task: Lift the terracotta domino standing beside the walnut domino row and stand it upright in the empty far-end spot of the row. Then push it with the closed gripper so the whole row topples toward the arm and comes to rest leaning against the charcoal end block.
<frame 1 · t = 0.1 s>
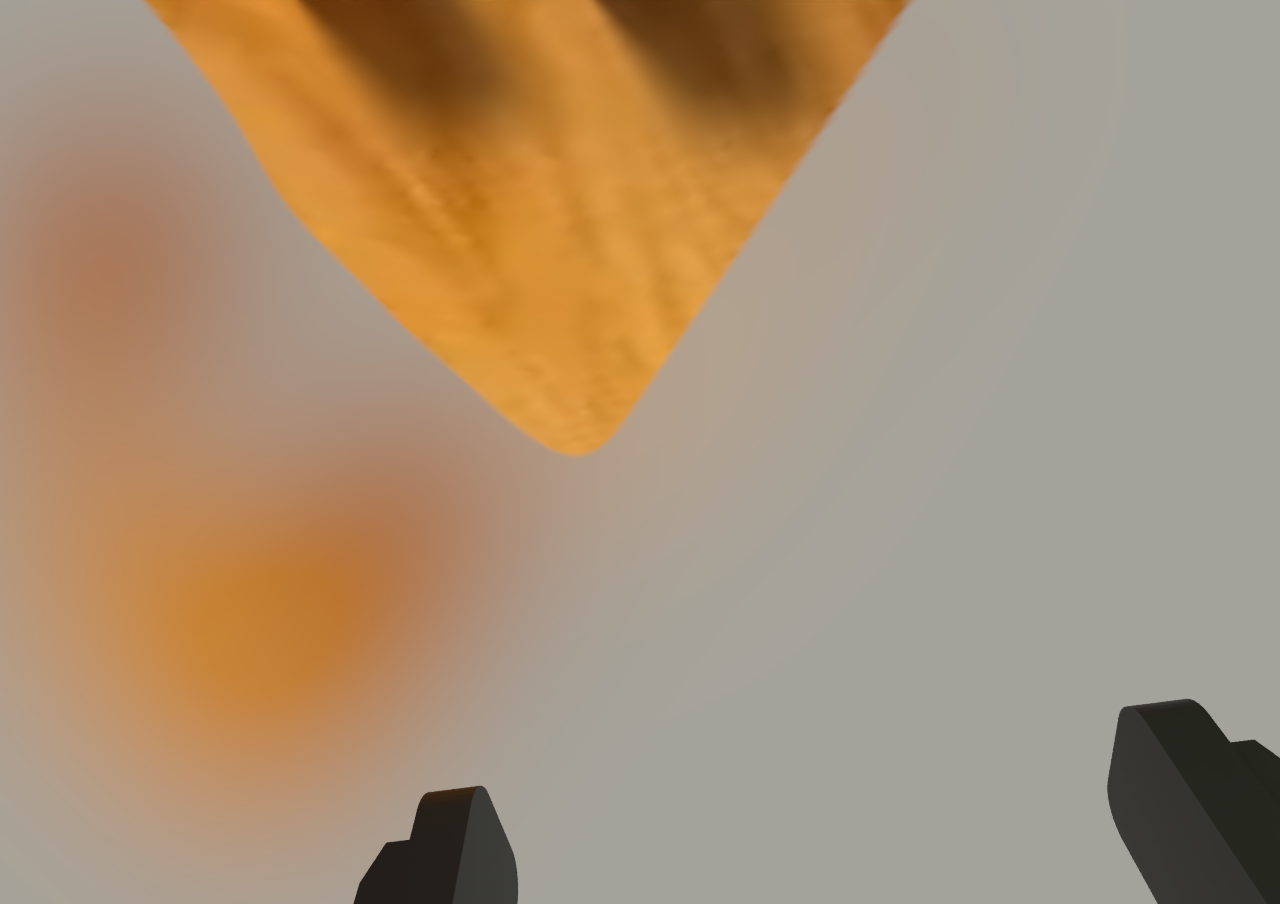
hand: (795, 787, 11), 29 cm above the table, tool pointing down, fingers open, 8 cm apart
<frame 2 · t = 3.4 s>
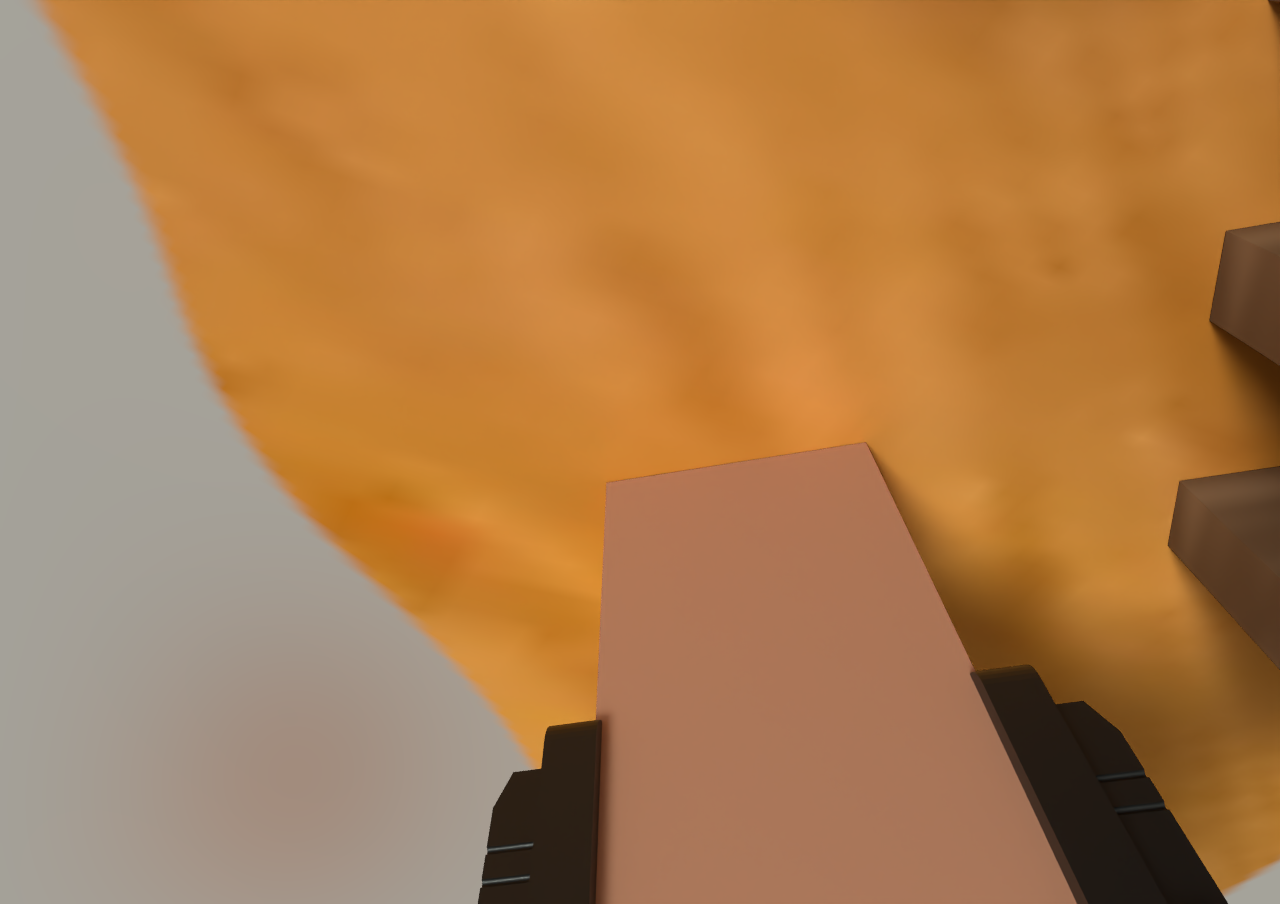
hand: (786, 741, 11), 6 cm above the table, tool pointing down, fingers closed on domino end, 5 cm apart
domino end: (739, 496, 16), on the table, touching gripper
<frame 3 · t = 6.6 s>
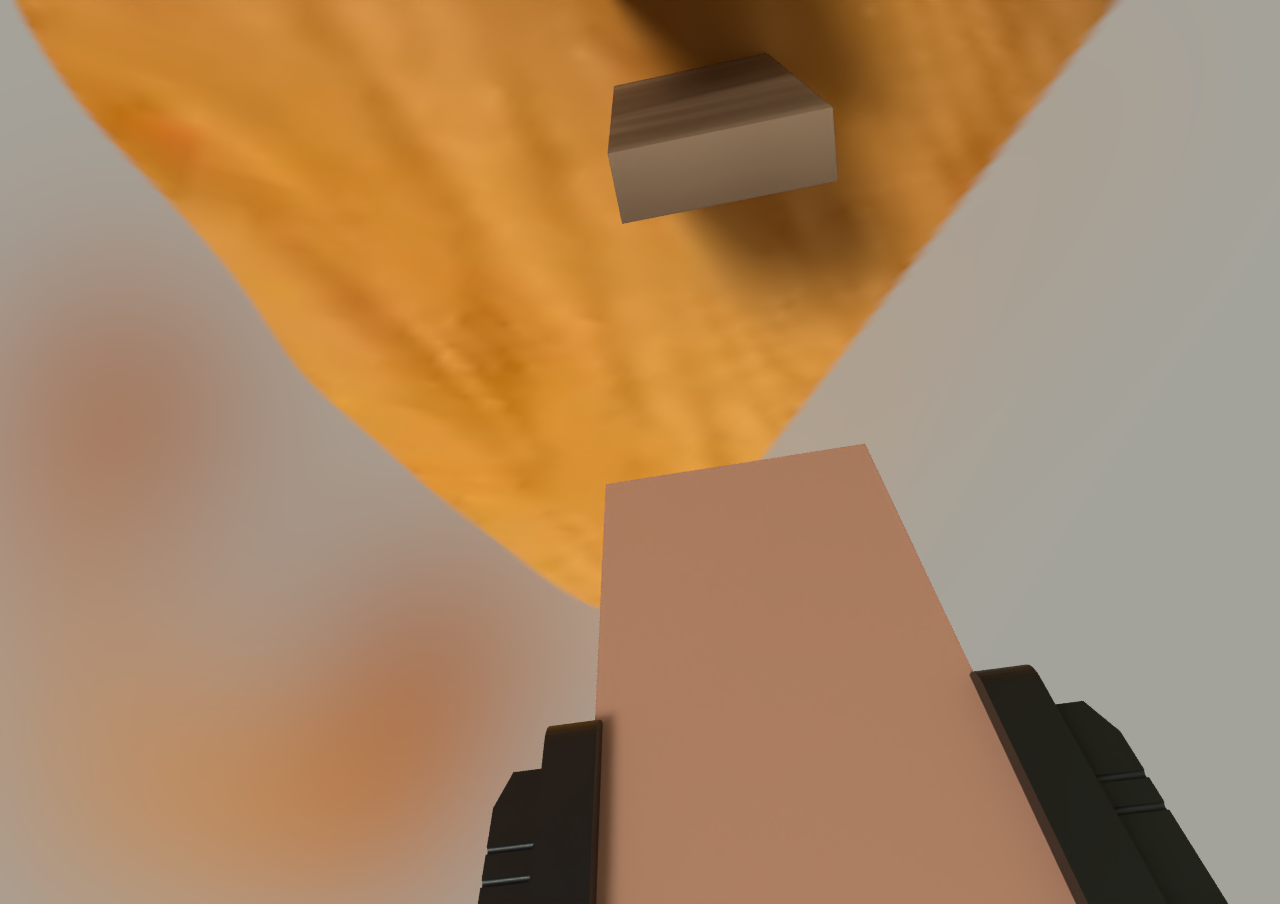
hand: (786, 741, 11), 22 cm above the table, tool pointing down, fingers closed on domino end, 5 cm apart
domino 1: (694, 96, 27), on the table
domino end: (738, 498, 16), point 16 cm above the table, touching gripper
when the fingers open (7 cm above the table, at t = 9.6 s): domino end stays where it is, on the table.
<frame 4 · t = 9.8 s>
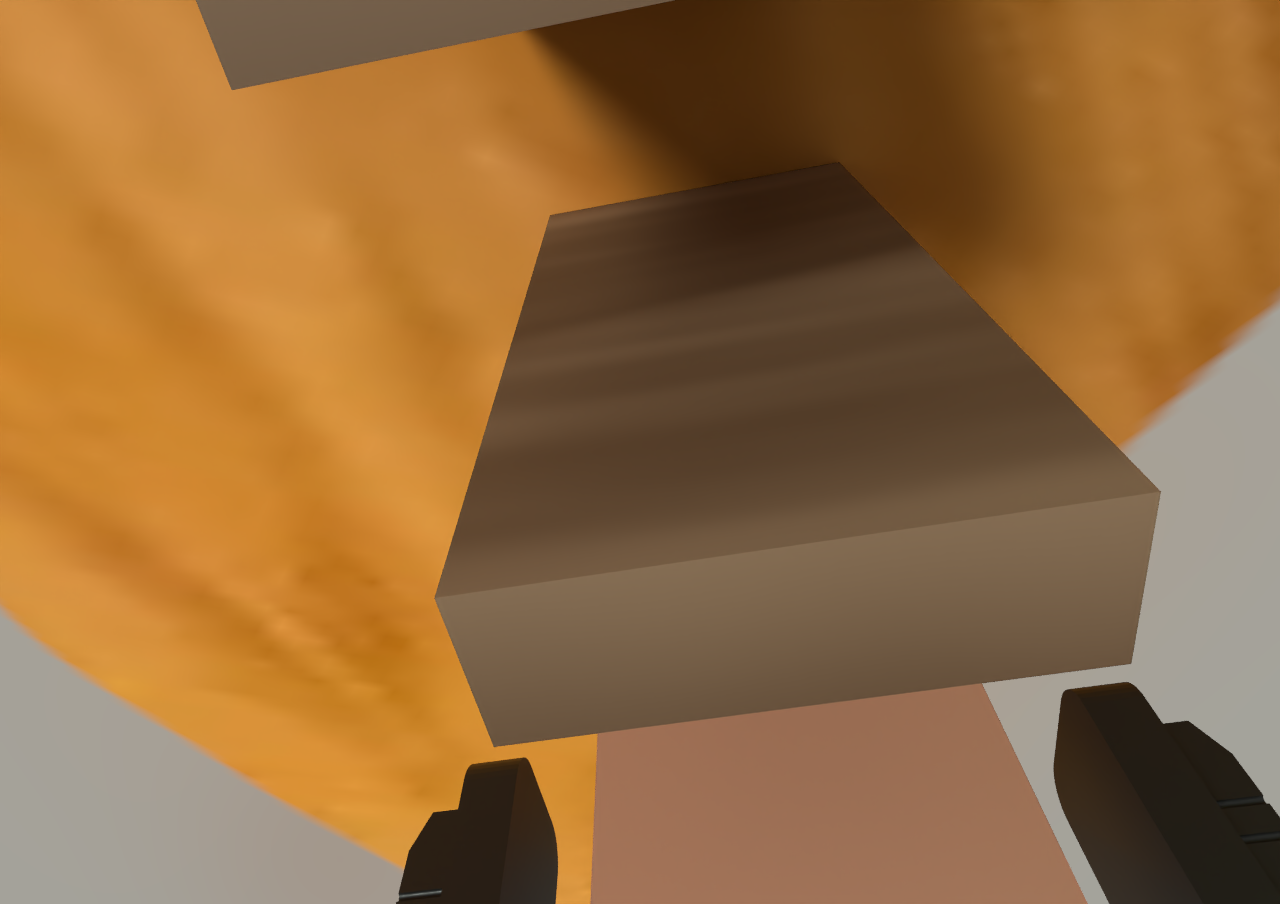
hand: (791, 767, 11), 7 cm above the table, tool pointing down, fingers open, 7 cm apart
domino 1: (699, 234, 15), on the table
domino end: (735, 472, 17), on the table
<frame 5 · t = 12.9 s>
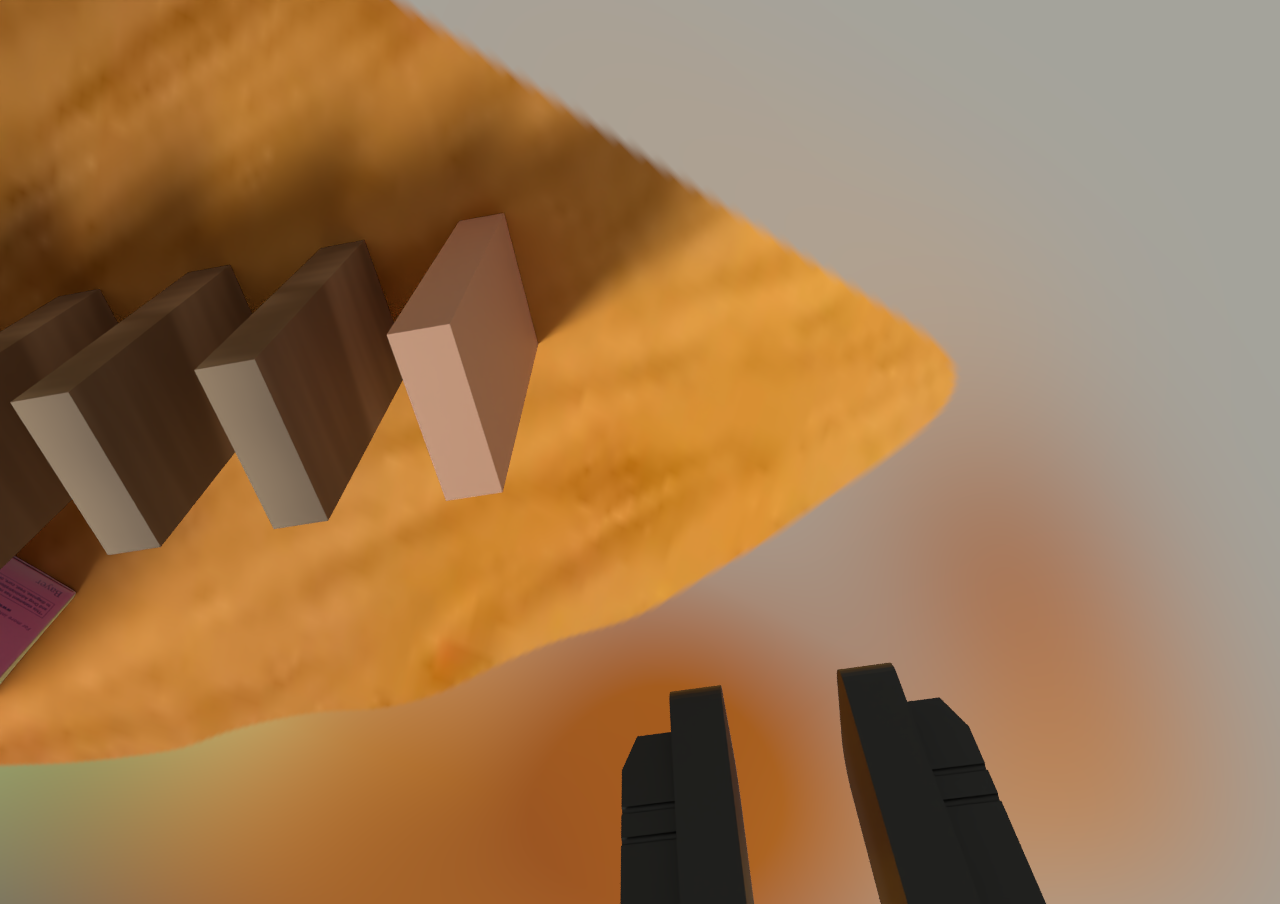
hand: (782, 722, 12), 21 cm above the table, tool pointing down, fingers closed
domino 3: (113, 355, 32), on the table
domino 1: (367, 309, 31), on the table
domino 2: (238, 332, 31), on the table
domino end: (500, 285, 30), on the table
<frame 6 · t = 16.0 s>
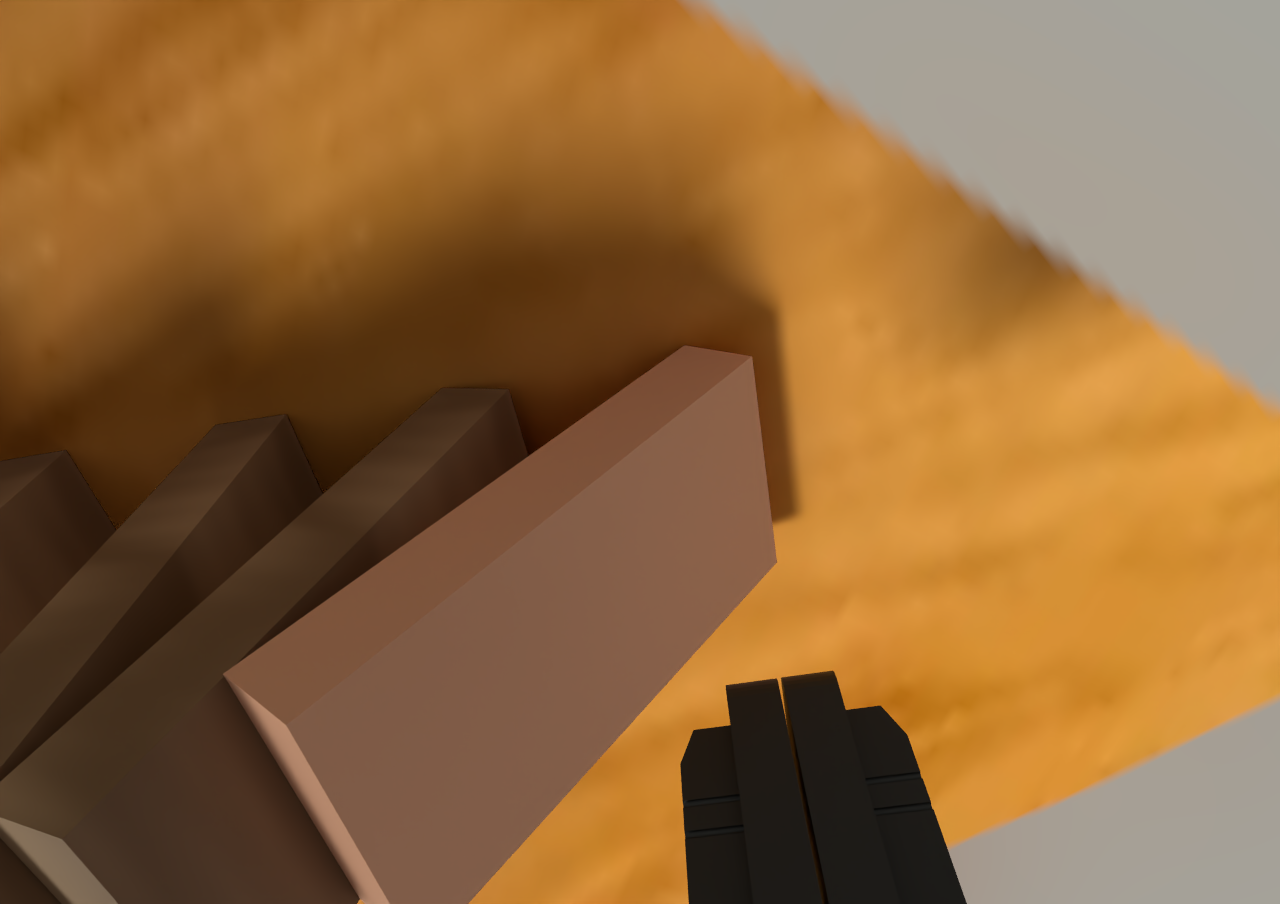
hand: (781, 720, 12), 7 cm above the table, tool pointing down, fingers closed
domino 3: (91, 547, 19), on the table
domino 1: (506, 489, 18), on the table, tilted 21°
domino 2: (296, 515, 19), on the table
domino end: (732, 458, 18), on the table, tilted 39°
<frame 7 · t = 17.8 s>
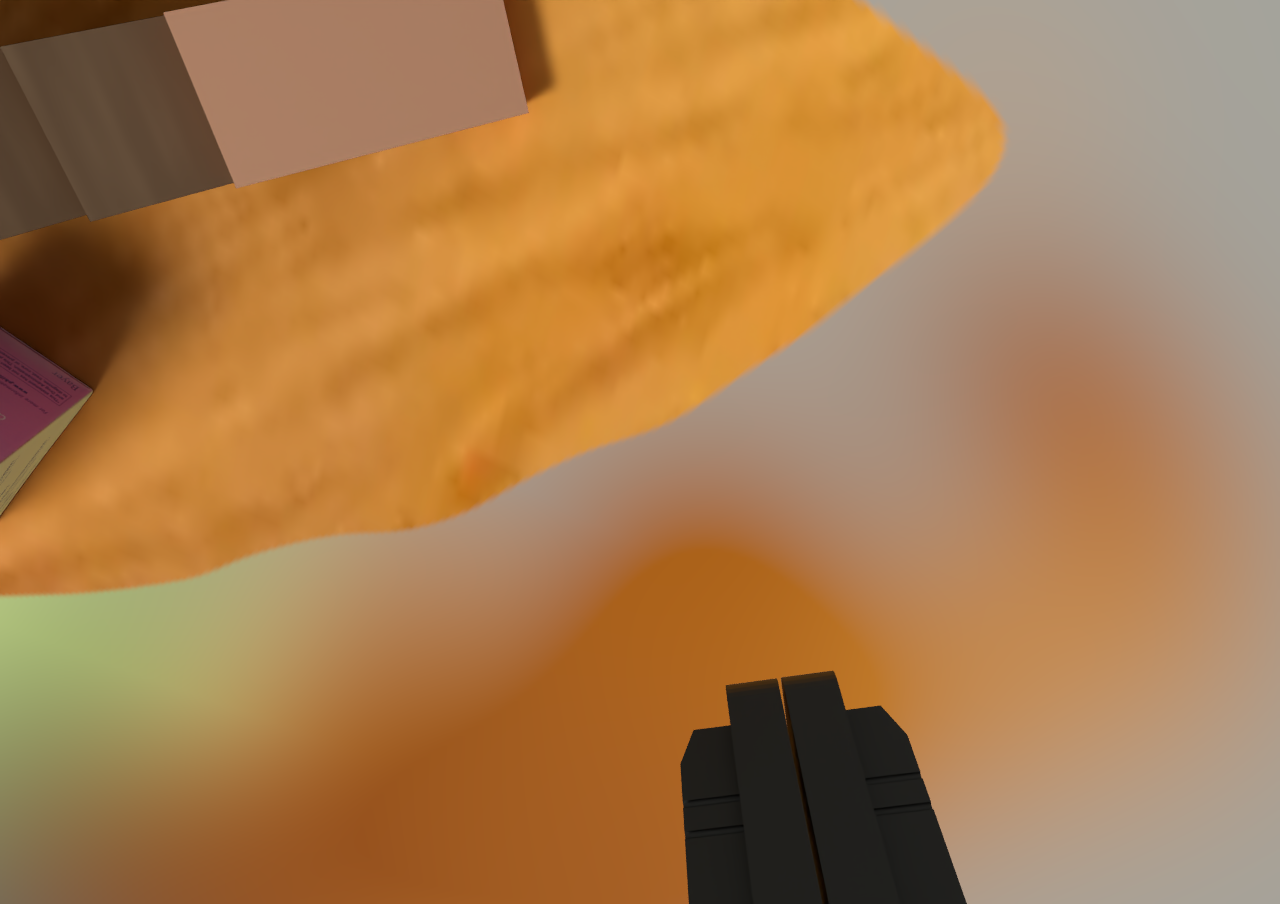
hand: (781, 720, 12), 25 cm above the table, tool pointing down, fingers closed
domino 1: (363, 63, 29), point 1 cm above the table, tilted 58°, touching domino 2, domino end
domino 2: (236, 88, 30), point 1 cm above the table, tilted 49°, touching domino 1, domino 3
domino end: (503, 34, 29), point 1 cm above the table, tilted 65°, touching domino 1
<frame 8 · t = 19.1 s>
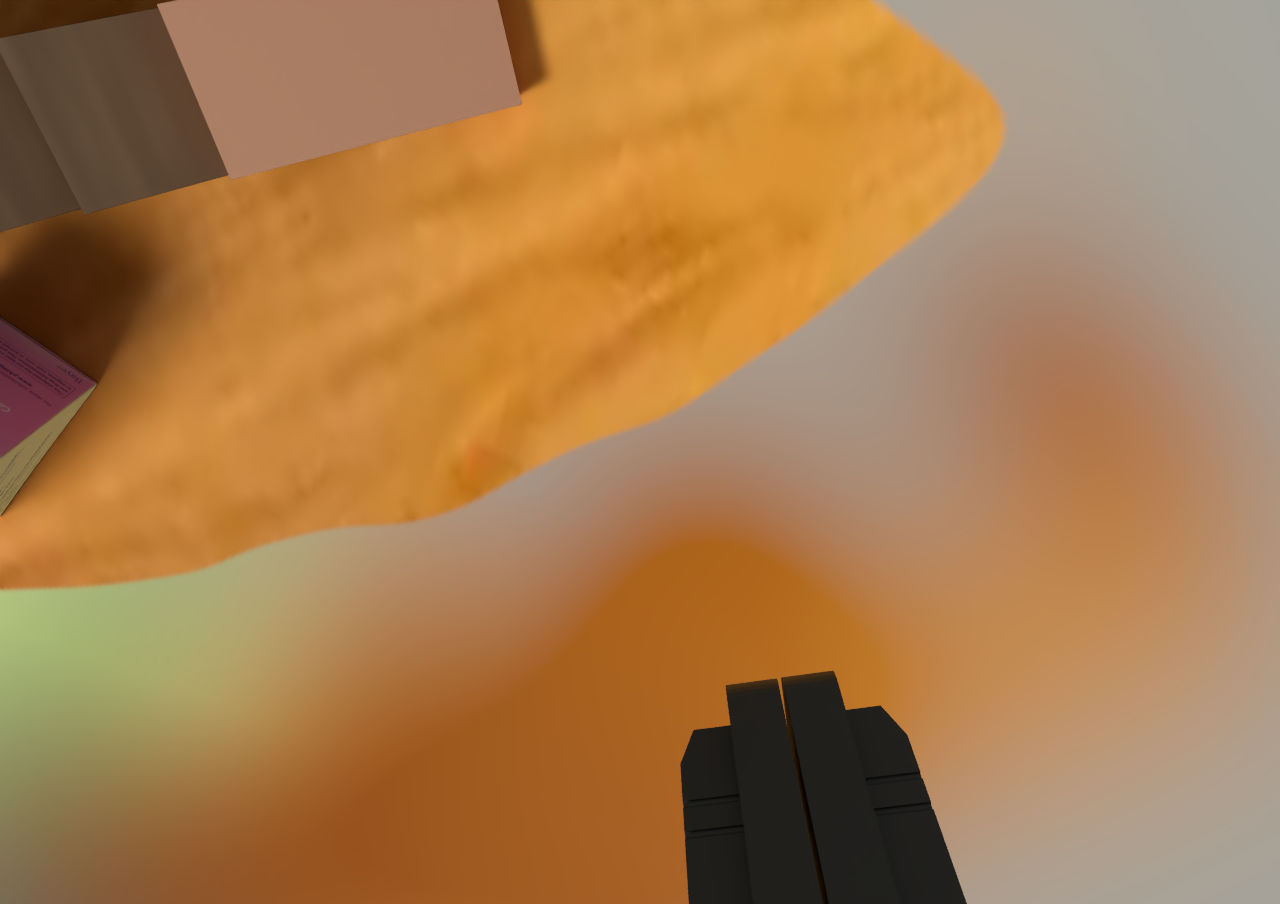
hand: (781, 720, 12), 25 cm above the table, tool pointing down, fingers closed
domino 1: (355, 56, 29), point 1 cm above the table, tilted 57°, touching domino 2, domino end
domino 2: (230, 81, 30), point 1 cm above the table, tilted 48°, touching domino 1, domino 3
domino end: (496, 26, 29), point 1 cm above the table, tilted 64°, touching domino 1
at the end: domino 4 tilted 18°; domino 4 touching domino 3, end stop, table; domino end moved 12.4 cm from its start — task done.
